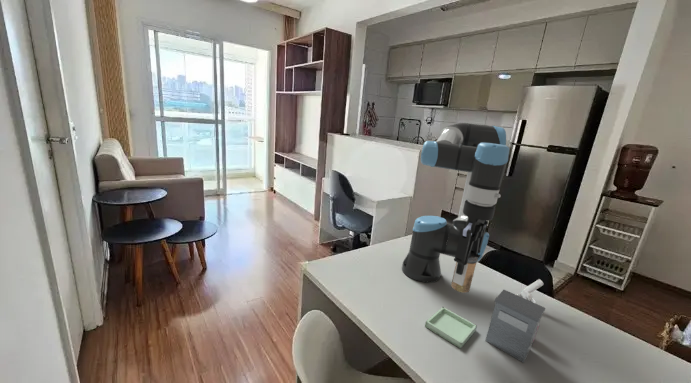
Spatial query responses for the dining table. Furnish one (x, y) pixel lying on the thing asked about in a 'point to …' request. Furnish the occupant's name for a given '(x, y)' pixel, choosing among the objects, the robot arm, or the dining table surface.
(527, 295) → the hook
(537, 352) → the dining table surface
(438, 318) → the tray
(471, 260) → the amber cylinder
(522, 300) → the box
